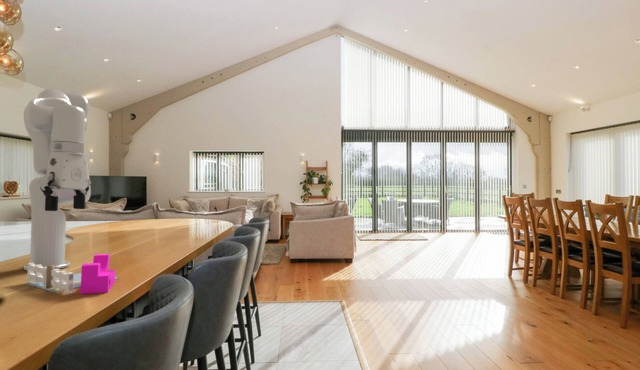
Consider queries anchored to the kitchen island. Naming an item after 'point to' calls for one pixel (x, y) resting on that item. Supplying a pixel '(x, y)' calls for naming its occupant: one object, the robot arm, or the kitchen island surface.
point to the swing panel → (36, 273)
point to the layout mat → (75, 285)
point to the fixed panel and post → (59, 279)
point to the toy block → (97, 275)
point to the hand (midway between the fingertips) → (65, 209)
